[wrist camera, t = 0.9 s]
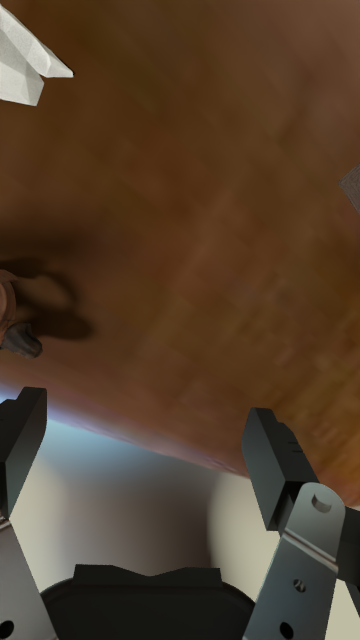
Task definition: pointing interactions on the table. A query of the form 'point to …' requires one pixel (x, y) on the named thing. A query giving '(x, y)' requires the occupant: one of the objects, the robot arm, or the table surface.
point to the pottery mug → (19, 334)
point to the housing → (352, 186)
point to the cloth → (24, 62)
